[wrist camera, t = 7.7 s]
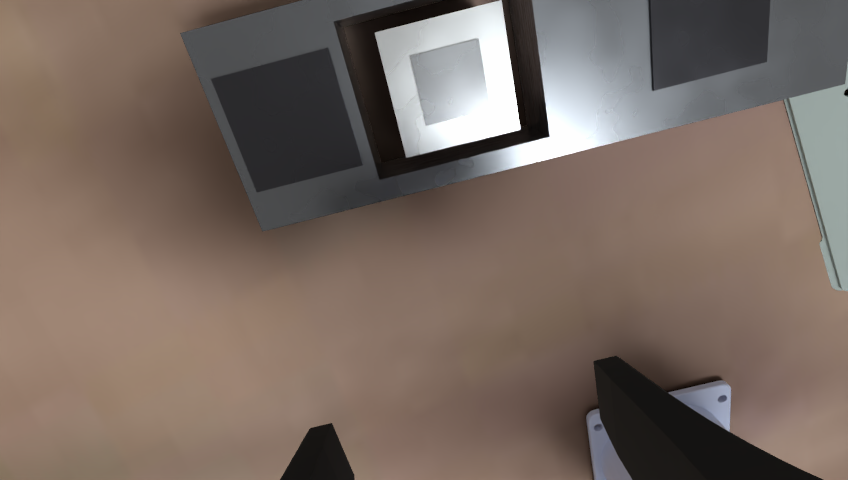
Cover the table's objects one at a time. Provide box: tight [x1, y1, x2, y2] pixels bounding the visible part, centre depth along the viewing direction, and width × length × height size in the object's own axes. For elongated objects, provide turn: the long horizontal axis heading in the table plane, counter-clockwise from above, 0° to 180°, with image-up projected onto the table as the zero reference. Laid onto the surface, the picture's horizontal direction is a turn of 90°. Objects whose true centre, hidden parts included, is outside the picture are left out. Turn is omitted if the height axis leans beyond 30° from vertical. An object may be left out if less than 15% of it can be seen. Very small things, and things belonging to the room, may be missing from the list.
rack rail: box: [180, 0, 848, 231], centre depth 16 cm, size 7×22×3 cm, turn 103°
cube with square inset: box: [375, 0, 521, 158], centre depth 16 cm, size 4×4×4 cm
